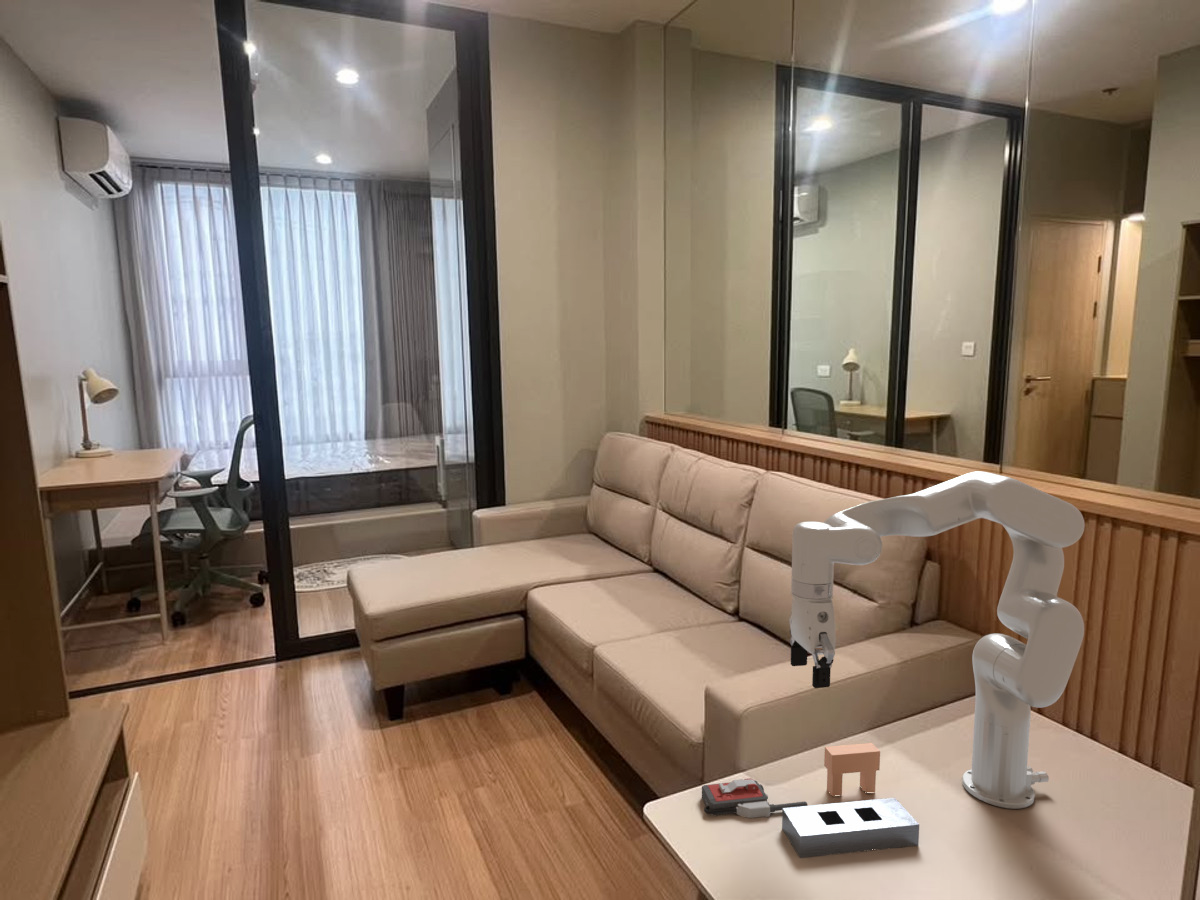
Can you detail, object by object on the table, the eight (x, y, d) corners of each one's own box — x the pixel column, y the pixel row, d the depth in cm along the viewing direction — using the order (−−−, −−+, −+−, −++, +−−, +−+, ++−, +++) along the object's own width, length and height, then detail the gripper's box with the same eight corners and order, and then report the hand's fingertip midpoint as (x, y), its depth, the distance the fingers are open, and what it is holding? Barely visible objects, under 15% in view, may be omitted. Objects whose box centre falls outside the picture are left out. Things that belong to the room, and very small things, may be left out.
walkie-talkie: (708, 825, 133) (809, 814, 136) (708, 803, 132) (810, 792, 136) (694, 798, 142) (790, 787, 145) (694, 777, 141) (790, 767, 144)
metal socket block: (893, 817, 134) (894, 797, 134) (918, 845, 126) (919, 824, 126) (782, 828, 131) (782, 808, 131) (799, 857, 124) (800, 836, 123)
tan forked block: (870, 784, 145) (871, 742, 144) (878, 794, 142) (880, 751, 141) (823, 789, 144) (824, 746, 143) (830, 798, 140) (832, 755, 139)
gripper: (853, 602, 126) (850, 694, 128) (810, 574, 143) (808, 656, 145) (813, 604, 125) (810, 697, 127) (775, 576, 142) (773, 659, 144)
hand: (809, 675), depth 136 cm, fingers open, 9 cm apart
